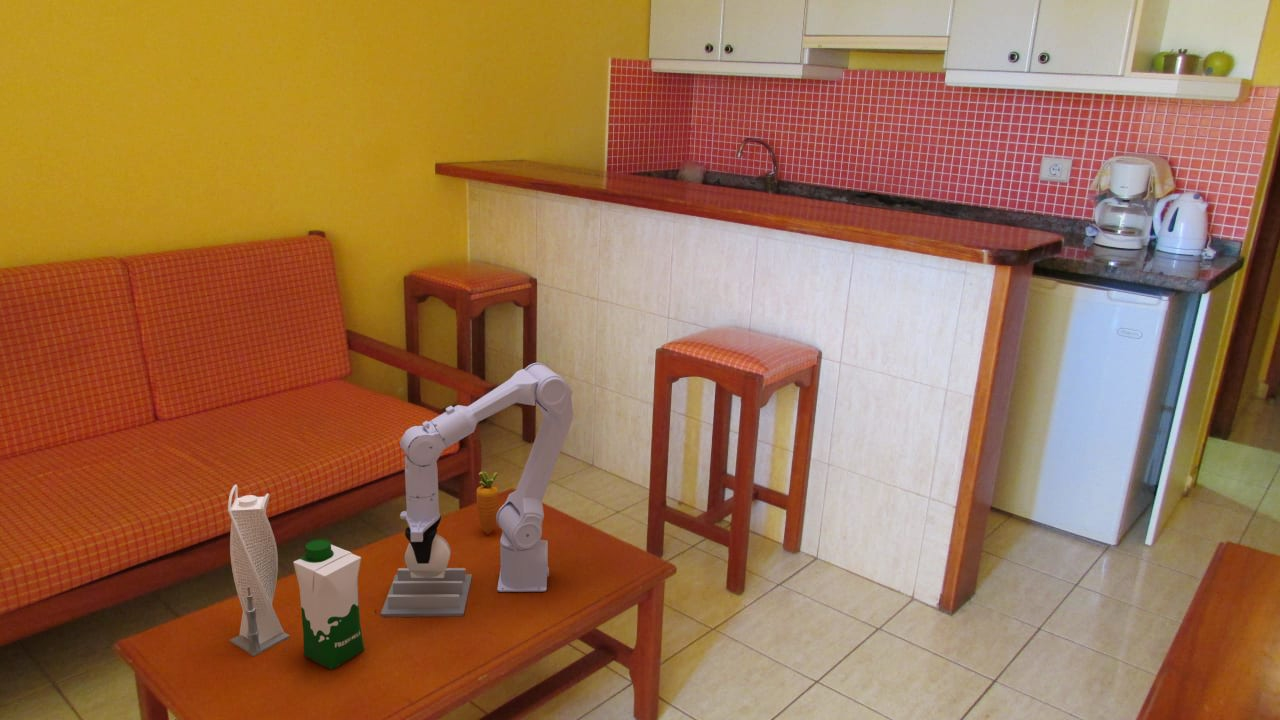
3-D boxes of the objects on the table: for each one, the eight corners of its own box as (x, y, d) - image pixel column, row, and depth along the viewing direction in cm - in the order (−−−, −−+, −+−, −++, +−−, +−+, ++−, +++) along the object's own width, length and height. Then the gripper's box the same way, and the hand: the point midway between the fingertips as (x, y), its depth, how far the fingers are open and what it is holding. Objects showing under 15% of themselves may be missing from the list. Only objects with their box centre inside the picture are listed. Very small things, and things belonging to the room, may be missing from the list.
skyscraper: (224, 639, 156) (208, 492, 148) (266, 618, 162) (252, 476, 154) (253, 656, 151) (238, 506, 143) (295, 634, 158) (282, 489, 150)
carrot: (502, 529, 198) (501, 467, 194) (496, 540, 193) (495, 476, 189) (480, 528, 198) (479, 465, 194) (473, 538, 194) (472, 475, 189)
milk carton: (337, 632, 159) (330, 530, 153) (372, 649, 154) (366, 545, 149) (295, 656, 152) (286, 551, 146) (331, 675, 147) (323, 567, 142)
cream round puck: (450, 571, 169) (450, 532, 166) (449, 577, 166) (448, 539, 164) (407, 570, 168) (406, 532, 166) (405, 577, 166) (404, 538, 163)
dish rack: (471, 576, 178) (471, 563, 178) (463, 616, 165) (463, 601, 164) (395, 577, 177) (394, 563, 176) (380, 616, 164) (379, 602, 163)
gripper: (406, 475, 169) (409, 539, 173) (391, 509, 155) (395, 578, 159) (444, 475, 170) (446, 539, 173) (433, 509, 156) (435, 578, 160)
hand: (424, 558), depth 166 cm, fingers closed on cream round puck, 2 cm apart
